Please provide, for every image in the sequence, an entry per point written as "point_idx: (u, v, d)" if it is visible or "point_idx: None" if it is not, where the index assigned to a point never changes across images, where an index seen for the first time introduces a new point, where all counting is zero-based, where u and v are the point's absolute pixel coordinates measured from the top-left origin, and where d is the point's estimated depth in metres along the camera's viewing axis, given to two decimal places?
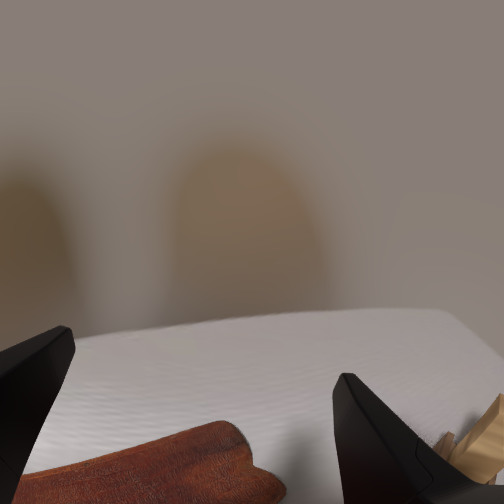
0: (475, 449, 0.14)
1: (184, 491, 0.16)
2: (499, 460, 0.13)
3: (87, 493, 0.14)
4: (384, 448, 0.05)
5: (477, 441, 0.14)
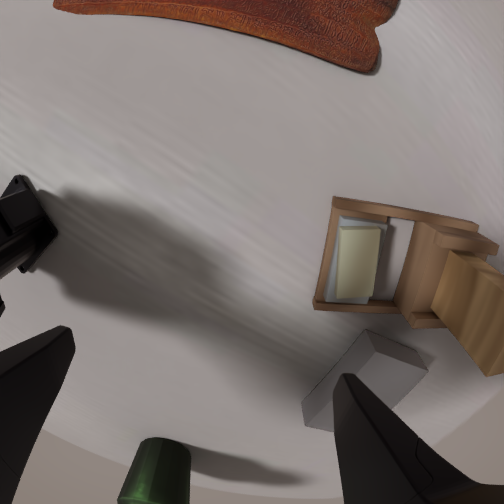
0: (479, 284, 0.14)
1: None
2: (462, 324, 0.16)
3: None
4: (384, 448, 0.05)
5: (489, 283, 0.14)
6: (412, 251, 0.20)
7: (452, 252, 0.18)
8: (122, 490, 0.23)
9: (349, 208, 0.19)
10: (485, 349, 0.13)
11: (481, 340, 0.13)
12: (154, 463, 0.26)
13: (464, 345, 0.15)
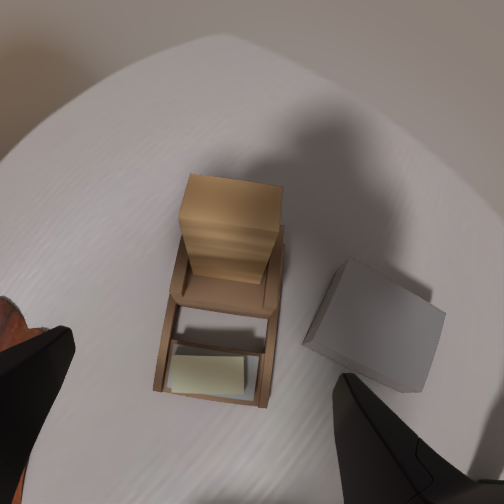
0: (198, 253, 0.17)
1: None
2: (248, 261, 0.17)
3: None
4: (384, 448, 0.05)
5: (188, 246, 0.17)
6: (207, 308, 0.22)
7: (193, 272, 0.21)
8: None
9: (161, 379, 0.20)
10: (251, 239, 0.15)
11: (246, 244, 0.15)
12: None
13: (266, 256, 0.16)
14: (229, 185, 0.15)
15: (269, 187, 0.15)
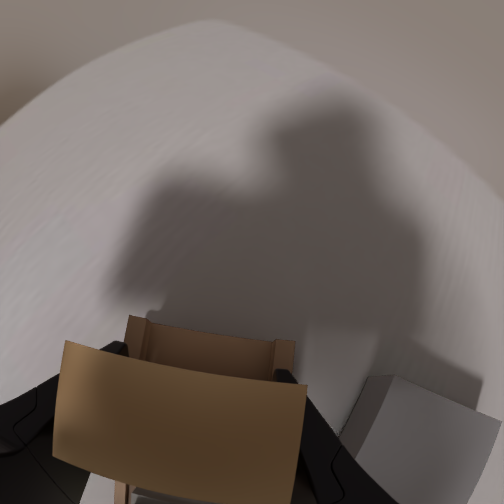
0: None
1: None
2: None
3: None
4: None
5: None
6: None
7: None
8: None
9: None
10: None
11: None
12: None
13: None
14: (160, 385, 0.05)
15: (270, 390, 0.05)
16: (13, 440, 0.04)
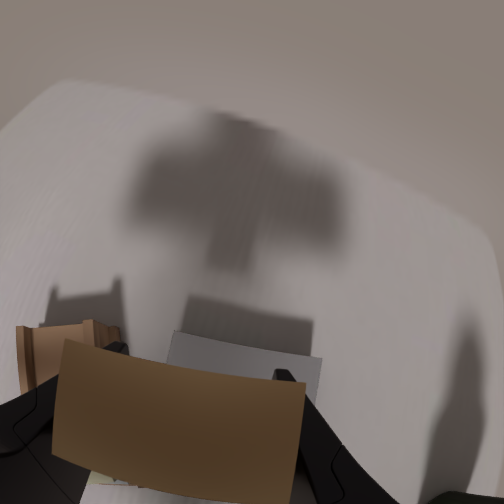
0: None
1: None
2: None
3: None
4: None
5: None
6: None
7: None
8: None
9: None
10: None
11: None
12: None
13: None
14: (159, 383, 0.05)
15: (269, 387, 0.05)
16: (14, 441, 0.04)
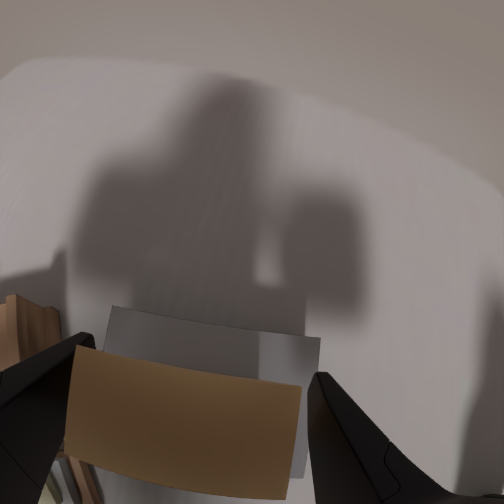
0: None
1: None
2: None
3: None
4: (351, 451, 0.05)
5: None
6: None
7: None
8: None
9: None
10: None
11: None
12: None
13: None
14: (166, 387, 0.05)
15: (267, 390, 0.05)
16: None
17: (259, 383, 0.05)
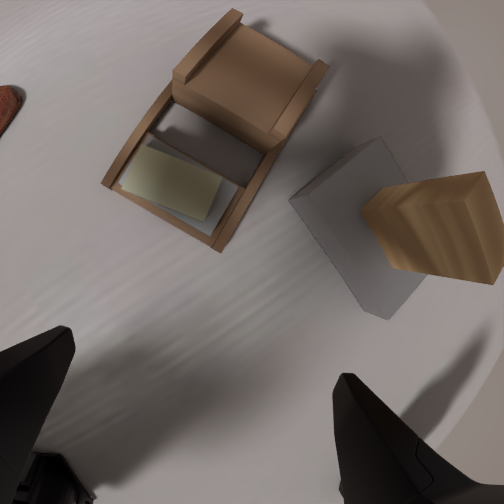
0: (409, 216, 0.14)
1: None
2: (430, 261, 0.14)
3: None
4: (384, 448, 0.05)
5: (416, 208, 0.13)
6: (204, 113, 0.17)
7: (363, 210, 0.17)
8: None
9: (116, 172, 0.16)
10: (469, 264, 0.12)
11: (458, 260, 0.12)
12: None
13: (449, 275, 0.14)
14: (496, 213, 0.11)
15: None
16: None
17: None
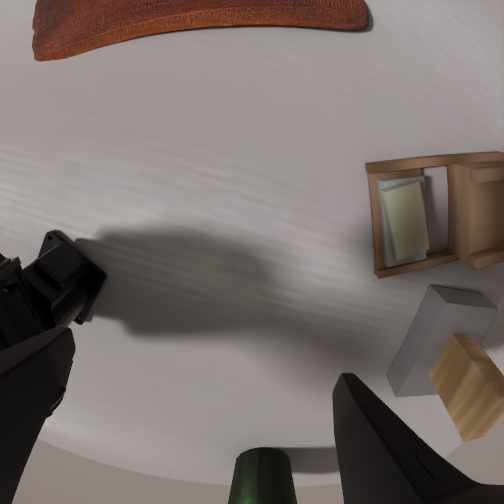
0: (470, 370, 0.17)
1: None
2: (451, 397, 0.18)
3: None
4: (384, 448, 0.05)
5: (478, 372, 0.16)
6: (453, 195, 0.19)
7: (453, 336, 0.20)
8: None
9: (384, 170, 0.18)
10: (466, 421, 0.15)
11: (464, 413, 0.16)
12: (255, 474, 0.26)
13: (450, 413, 0.17)
14: (499, 415, 0.14)
15: (486, 431, 0.14)
16: None
17: (488, 429, 0.14)
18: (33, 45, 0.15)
